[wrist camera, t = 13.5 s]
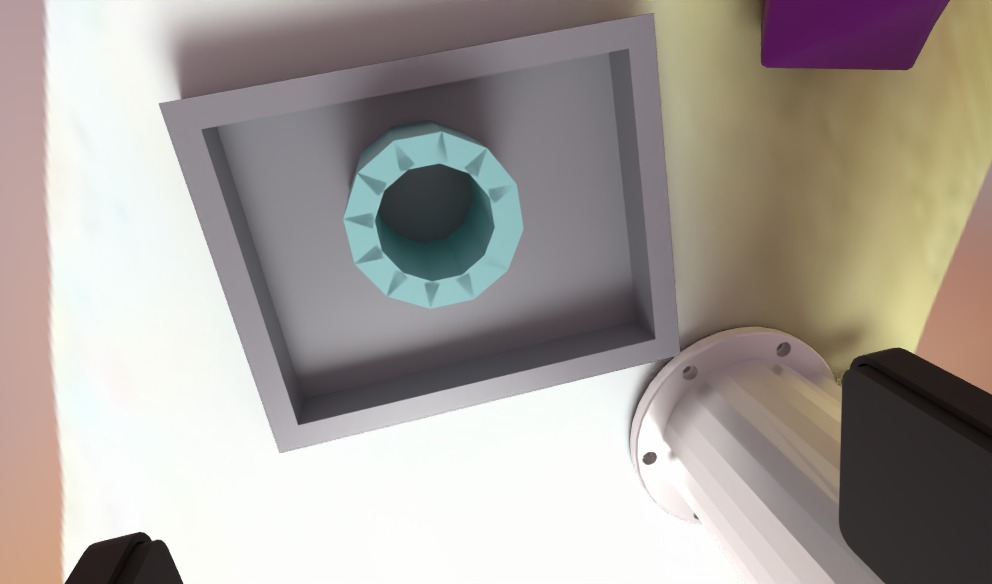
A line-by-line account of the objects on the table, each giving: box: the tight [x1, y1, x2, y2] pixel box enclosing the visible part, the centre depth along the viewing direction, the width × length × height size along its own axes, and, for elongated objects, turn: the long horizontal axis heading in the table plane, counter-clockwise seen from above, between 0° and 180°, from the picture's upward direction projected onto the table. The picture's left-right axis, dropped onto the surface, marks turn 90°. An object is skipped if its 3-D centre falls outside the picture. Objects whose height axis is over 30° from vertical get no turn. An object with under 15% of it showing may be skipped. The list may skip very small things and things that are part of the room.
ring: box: [343, 120, 524, 309], centre depth 27 cm, size 7×8×6 cm
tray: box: [159, 13, 680, 453], centre depth 30 cm, size 20×16×3 cm
